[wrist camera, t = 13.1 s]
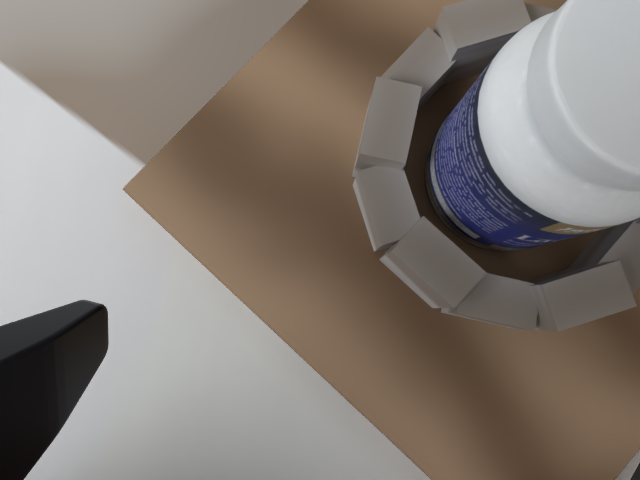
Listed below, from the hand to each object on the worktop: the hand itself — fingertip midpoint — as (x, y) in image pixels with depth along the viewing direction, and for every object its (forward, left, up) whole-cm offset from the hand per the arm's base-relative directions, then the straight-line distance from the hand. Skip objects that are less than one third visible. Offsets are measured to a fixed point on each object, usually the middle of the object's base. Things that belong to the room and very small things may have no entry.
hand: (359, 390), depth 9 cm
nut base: (+9, 0, -12) cm, 15 cm away
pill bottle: (+9, 0, -11) cm, 14 cm away
